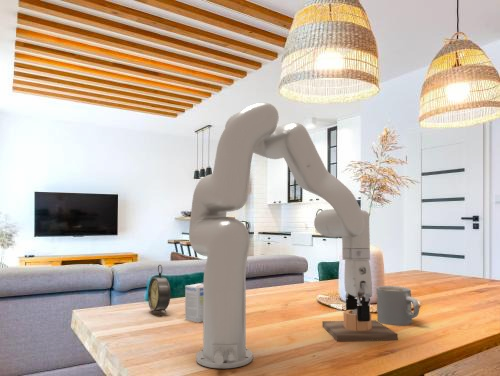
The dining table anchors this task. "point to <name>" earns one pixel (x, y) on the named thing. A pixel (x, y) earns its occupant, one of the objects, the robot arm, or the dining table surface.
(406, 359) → the dining table surface
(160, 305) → the alarm clock
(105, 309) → the dining table surface
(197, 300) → the light bulb box
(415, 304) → the coffee mug
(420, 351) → the dining table surface
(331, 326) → the post base
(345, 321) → the ring
